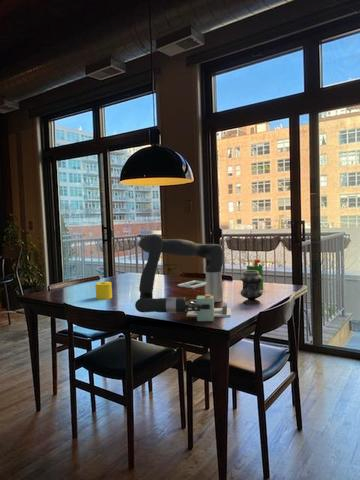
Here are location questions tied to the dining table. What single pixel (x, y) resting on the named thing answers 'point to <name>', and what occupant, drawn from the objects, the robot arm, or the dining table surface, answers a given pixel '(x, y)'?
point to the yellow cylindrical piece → (103, 290)
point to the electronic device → (192, 283)
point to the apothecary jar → (251, 287)
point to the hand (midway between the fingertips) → (210, 305)
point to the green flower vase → (257, 268)
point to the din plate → (215, 312)
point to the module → (205, 313)
